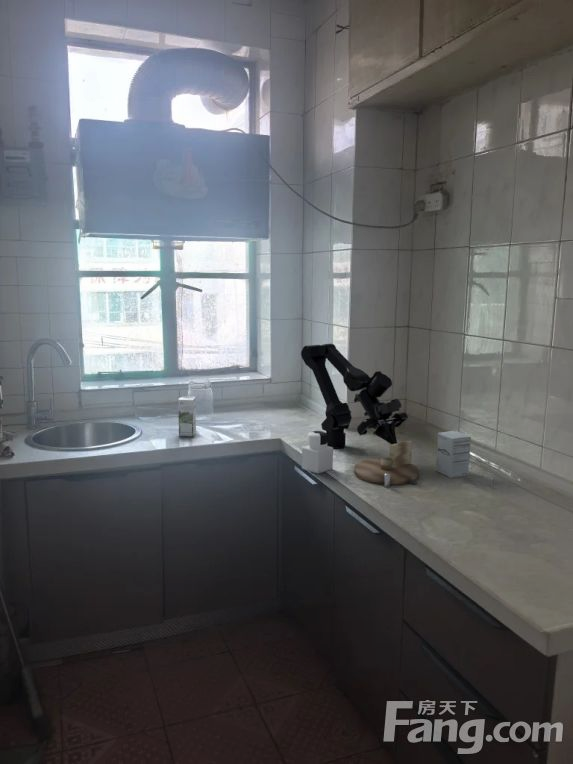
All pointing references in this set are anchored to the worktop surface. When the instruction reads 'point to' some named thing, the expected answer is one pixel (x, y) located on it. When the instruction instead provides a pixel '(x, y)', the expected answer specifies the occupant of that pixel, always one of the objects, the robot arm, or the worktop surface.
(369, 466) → the walnut flange plate
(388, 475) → the steel dowel
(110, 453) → the worktop surface
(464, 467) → the supplement box
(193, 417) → the syrup box
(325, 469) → the medicine bottle
